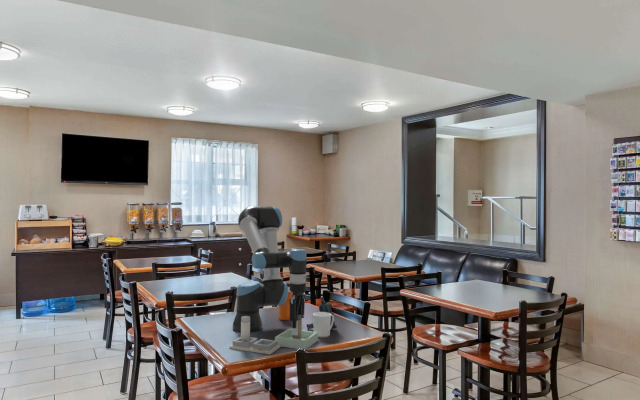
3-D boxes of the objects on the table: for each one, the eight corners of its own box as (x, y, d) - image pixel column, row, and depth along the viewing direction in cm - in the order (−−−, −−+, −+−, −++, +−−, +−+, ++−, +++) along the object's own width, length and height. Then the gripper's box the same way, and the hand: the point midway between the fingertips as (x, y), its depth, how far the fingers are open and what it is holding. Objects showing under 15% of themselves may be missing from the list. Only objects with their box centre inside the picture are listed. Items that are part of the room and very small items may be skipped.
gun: (301, 301, 220) (329, 294, 219) (309, 333, 219) (337, 326, 219) (300, 303, 217) (329, 295, 217) (308, 335, 216) (337, 327, 216)
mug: (316, 338, 202) (317, 317, 203) (309, 333, 211) (310, 312, 211) (337, 336, 207) (337, 315, 207) (329, 331, 215) (330, 311, 215)
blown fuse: (291, 341, 194) (291, 315, 195) (294, 339, 198) (295, 313, 198) (299, 342, 193) (299, 316, 193) (302, 340, 197) (302, 314, 197)
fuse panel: (229, 348, 186) (229, 341, 186) (241, 341, 195) (241, 335, 195) (269, 354, 179) (270, 347, 179) (280, 347, 188) (280, 340, 188)
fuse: (238, 344, 188) (239, 317, 188) (243, 342, 192) (244, 315, 192) (246, 346, 186) (247, 318, 187) (251, 343, 190) (251, 316, 190)
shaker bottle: (284, 315, 246) (284, 281, 246) (296, 318, 240) (296, 282, 241) (273, 318, 238) (274, 283, 239) (285, 321, 233) (286, 285, 234)
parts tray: (274, 345, 191) (274, 337, 191) (288, 336, 205) (288, 328, 205) (305, 349, 186) (305, 341, 186) (317, 340, 200) (317, 332, 200)
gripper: (297, 286, 187) (296, 339, 186) (312, 280, 203) (311, 329, 202) (282, 284, 189) (281, 337, 189) (297, 279, 205) (296, 328, 205)
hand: (296, 333), depth 195 cm, fingers closed on blown fuse, 4 cm apart
